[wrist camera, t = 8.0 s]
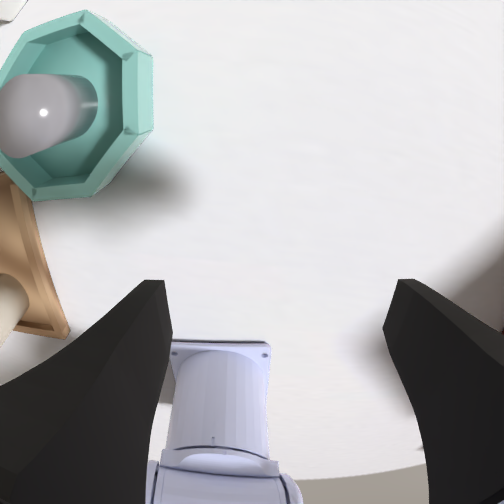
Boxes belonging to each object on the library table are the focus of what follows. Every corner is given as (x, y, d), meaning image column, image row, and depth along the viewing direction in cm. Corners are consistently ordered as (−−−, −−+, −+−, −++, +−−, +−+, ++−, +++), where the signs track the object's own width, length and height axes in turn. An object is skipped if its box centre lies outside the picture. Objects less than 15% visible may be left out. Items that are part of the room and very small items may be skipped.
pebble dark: (96, 139, 15) (50, 157, 11) (43, 141, 15) (-7, 160, 10) (100, 71, 13) (53, 67, 9) (45, 79, 13) (-7, 81, 9)
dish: (156, 180, 17) (143, 194, 15) (22, 191, 17) (1, 205, 14) (155, 9, 12) (141, -4, 10) (14, 49, 12) (-10, 48, 10)
